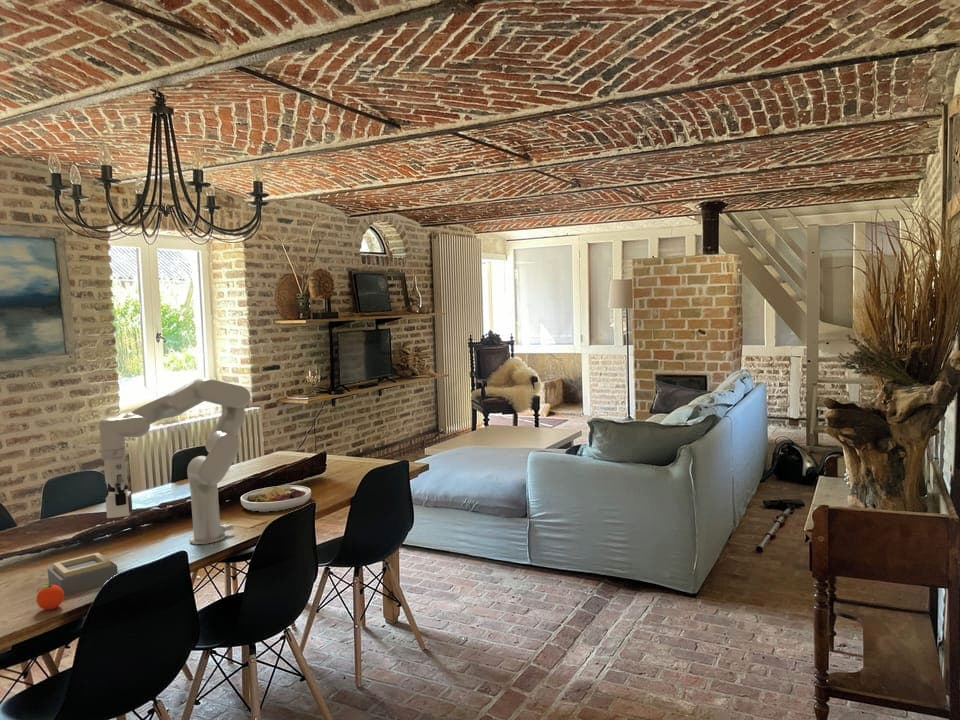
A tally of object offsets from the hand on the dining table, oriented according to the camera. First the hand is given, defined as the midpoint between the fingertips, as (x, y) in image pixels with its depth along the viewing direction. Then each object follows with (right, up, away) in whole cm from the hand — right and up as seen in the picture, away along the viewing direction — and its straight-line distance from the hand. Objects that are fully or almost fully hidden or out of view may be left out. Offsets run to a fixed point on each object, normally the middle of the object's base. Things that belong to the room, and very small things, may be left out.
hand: (116, 502), depth 244 cm
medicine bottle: (+1, -5, +1) cm, 5 cm away
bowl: (+36, -15, +68) cm, 78 cm away
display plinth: (-1, -22, -19) cm, 29 cm away
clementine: (+1, -23, -39) cm, 45 cm away
